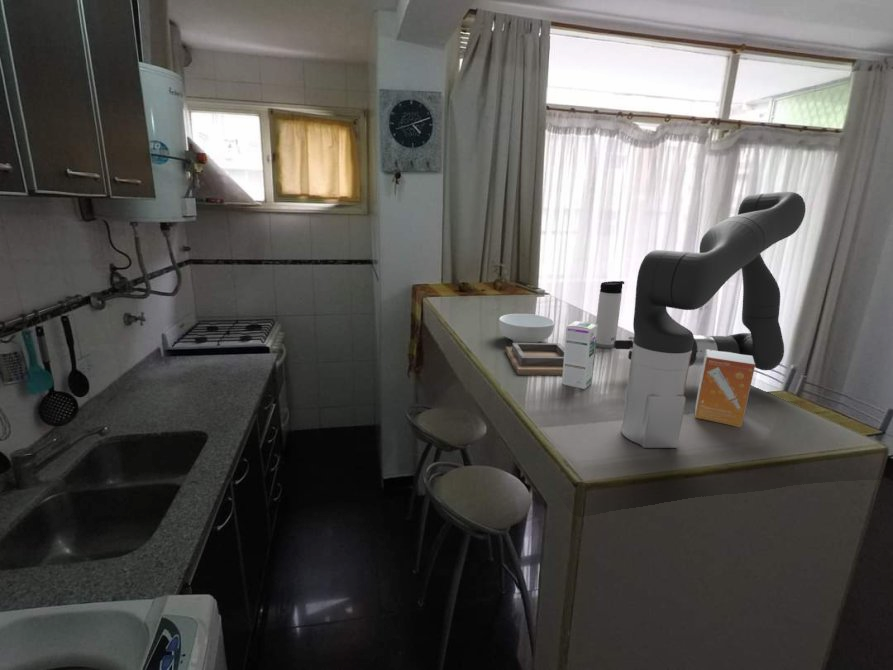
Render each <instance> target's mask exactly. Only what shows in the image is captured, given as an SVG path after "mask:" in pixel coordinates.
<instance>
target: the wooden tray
mask: <svg viewBox="0 0 893 670" xmlns="http://www.w3.org/2000/svg"><path fill="white" fill-rule="evenodd" d="M511 344H512V345H511V346H505V353H506V355H507V356H508V359H509V361H510V363H511V365H512V366H513V368H514V370H515V372H516V374H517V375H518V376H520V375H521V376H523V375H524V376H527V375H529V376H534V375H535V376H562V374H563V361H564V349H565V346H563V345H562V344H561V343H557V342H555V343H553V342H545V343H544V342H542V343H541V342H537V343H515V342H512V343H511Z"/></svg>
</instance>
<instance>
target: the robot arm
mask: <svg viewBox="0 0 893 670" xmlns="http://www.w3.org/2000/svg"><path fill="white" fill-rule="evenodd" d="M805 215H806V203H805V200H804V198H803V196H801V194H800V193H797V192H793V191H779V192H778V191H777V192H767V193H766V192H765V193H754V194H749V195H747V196H745V197H744V198H743V200H741V203H740V204H739V207H738V211H737V214H736V215H733V216H730V217H728V218H726V219H723V220H722V221H720V222H719V223H716V225H713V227H711V228H710V229H709V230H707V231H706V232H705V233H704V235H703V236H702V237H701V239H700V244H699V252H688V251H677V250H676V251H675V250H666V249H665V250H663V249H660V250H658V249H655V250H652V251H650V252H648V253H646V255H645V256H644V258H643V260H642V261H641V264H640V266H639V269H638V273H637V278H636V287H635V298H634V299H635V301H634V310H633V312H634V313H633V324H632V325H633V326H632V327H633V332H634V333H633V334H634V335H633V336H629V337H628V339H616V340H615V341H614V347H613V348H614V349H615V350H629V351H628V355H627V359H628V360H629V361H630V362H629V363H630V365H629V372H628V377H627V378H628V379H627V384H626V385H627V386H626V387H627V388H626V394H625V400H624V409H623V413H622V414H623V415H622V424H621V430H620V431H621V433H622V435H623V436H624V437H625V438H626V439H628V440H630V441H631V442H632V443H633V442H634V443H636V444H638V445H640V447H642V448H643V449H644V448H646V449H647V448H648V449H650V448H651V449H653V448H655V449H663V448H664V449H665V448H666V449H667V448H670V449H674V448H675V449H676V448H679V447H678V446H679V441H680V436H681V430H682V423H683V418H684V413H685V407H686V400H687V399H686V398H687V397H686V396H685V391H686V386H687V379H688V376H689V375H688V374H689V369H690V367H703V363H704V358H705V353H706V349H708V350H714V351H722V352H731V353H736V354H742V355H751V356H753V359H754V362H755V368H756V369H758V370H760V371H771V370H774V369H775V368H777V367H778V366H779V365H780V364H781V363H782V361H783V358H784V355H785V344H784V343H785V342H784V338H783V333H782V328H781V326H780V322H779V321H780V320H779V319H780V308H781V307H780V305H781V290H780V287H779V285H778V282H777V280H776V278H775V277H774V275H773V273H771V270H770V269H769V268H768V266H767V264H766V263H765V261H764V259H763V257H762V254H761V253H763V252H764V251H766V250H768V249H769V248H771V246H774V244H776V243H779V242H780V241H783V240H785V239H786V238H789V237H791V236H792V235H794V234H795V233H796V232H797V231H798V229H799V228H800V227H801V225H802V224H803V221H804V219H805ZM740 270H741V275H742V306H741V307H742V309H741V310H742V311H741V312H742V313H741V322H742V324H743V326H744V327H745V328H747V330H748V331H749V333H748V332H741V333H735V334H729V335H725V336H724V335H704V334H693V331H691V330H690V329H688V327H685V326H683V325H682V324H681V323H678V322H677V321H676V320H675V319H674V318H673V317H672V316H671V315H670V314H669V312H668V310H667V308H670V309H671V308H672V309H677V310H684V311H694V310H697V309H700V308H702V307H703V306H705V305H706V304H707V303H708V302H709V301H710V300H711V299H712V298H713V297H714V296H715V295H716V294H717V292H719V290H720V289H721V288H722V287H723V285H724V284H726V282H728V281H729V279H731V278H732V277H733V276H734V275H735V274H736V273H737V272H739V271H740Z"/></svg>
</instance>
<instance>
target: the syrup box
mask: <svg viewBox="0 0 893 670" xmlns="http://www.w3.org/2000/svg"><path fill="white" fill-rule="evenodd" d="M596 336H597V324H596V323H592V322H588V321H587V322H586V321H579V320H578V321H576V320H574V321H573V322H572V323H570V324H568V325H566V327H565V337H564V338H565V339H564V348H565V349H564V361H563V374H562V375H561V377H562V378H561V384H562V385H565V386H568V387H572V388H577V389H582V390H586V389H587V387H589V386H590V384H592V383H593V376H594V364H595V356H596V355H595V353H596V347H597V346H596Z"/></svg>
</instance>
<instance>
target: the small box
mask: <svg viewBox="0 0 893 670" xmlns="http://www.w3.org/2000/svg"><path fill="white" fill-rule="evenodd" d="M754 373H755V362H754V359H753V356H751V355H742V354H736V353H731V352H722V351H714V350H708V349H706V353H705V358H704V363H703V366H702V369H701V374H700V378H699V379H700V380H699V386H698V389H697V395H696V401H695V408H694V409H695V411H694V418H695V419H699V420H700V419H701V420H705V421H710V422H715V423H720V424H724V425H729V426H733V427H737V428H742V425H743V421H744V416H745V412H746V409H747V405H748V399H749V395H750V391H751V385H752V381H753V379H754V378H753V377H754Z"/></svg>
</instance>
